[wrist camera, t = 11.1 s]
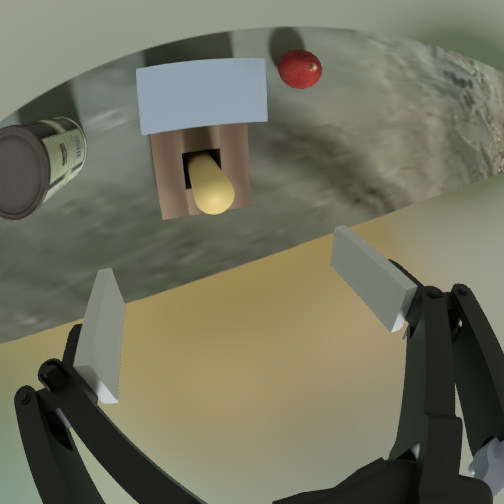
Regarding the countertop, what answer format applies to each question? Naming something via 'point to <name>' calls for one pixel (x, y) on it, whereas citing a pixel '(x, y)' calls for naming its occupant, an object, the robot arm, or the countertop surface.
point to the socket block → (196, 139)
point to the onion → (300, 69)
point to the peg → (209, 183)
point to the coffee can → (37, 163)
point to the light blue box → (201, 94)
